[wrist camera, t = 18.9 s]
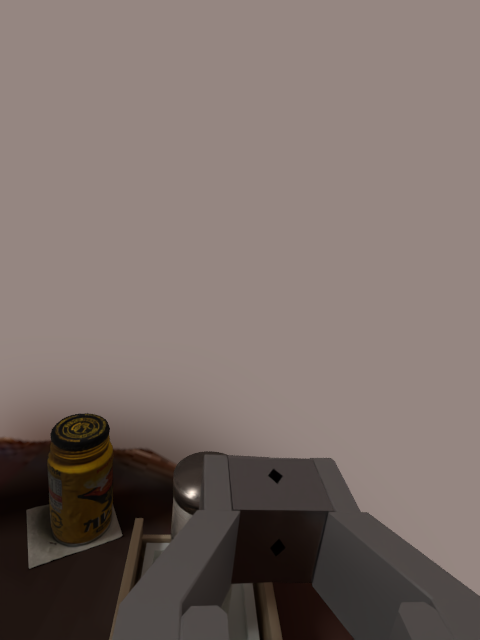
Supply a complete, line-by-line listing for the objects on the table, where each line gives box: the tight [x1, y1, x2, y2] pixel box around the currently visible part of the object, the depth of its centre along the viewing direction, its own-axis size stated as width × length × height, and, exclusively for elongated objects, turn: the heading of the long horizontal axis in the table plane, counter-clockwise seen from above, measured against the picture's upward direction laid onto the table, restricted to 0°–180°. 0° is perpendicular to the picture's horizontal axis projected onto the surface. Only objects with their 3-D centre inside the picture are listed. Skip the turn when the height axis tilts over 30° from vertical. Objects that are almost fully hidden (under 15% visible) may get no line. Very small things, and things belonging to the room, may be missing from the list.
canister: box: [170, 452, 233, 617], centre depth 28 cm, size 5×5×14 cm
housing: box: [109, 518, 282, 640], centre depth 30 cm, size 12×12×5 cm
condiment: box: [26, 414, 123, 569], centre depth 37 cm, size 7×8×12 cm
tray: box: [141, 543, 260, 640], centre depth 29 cm, size 10×13×6 cm
